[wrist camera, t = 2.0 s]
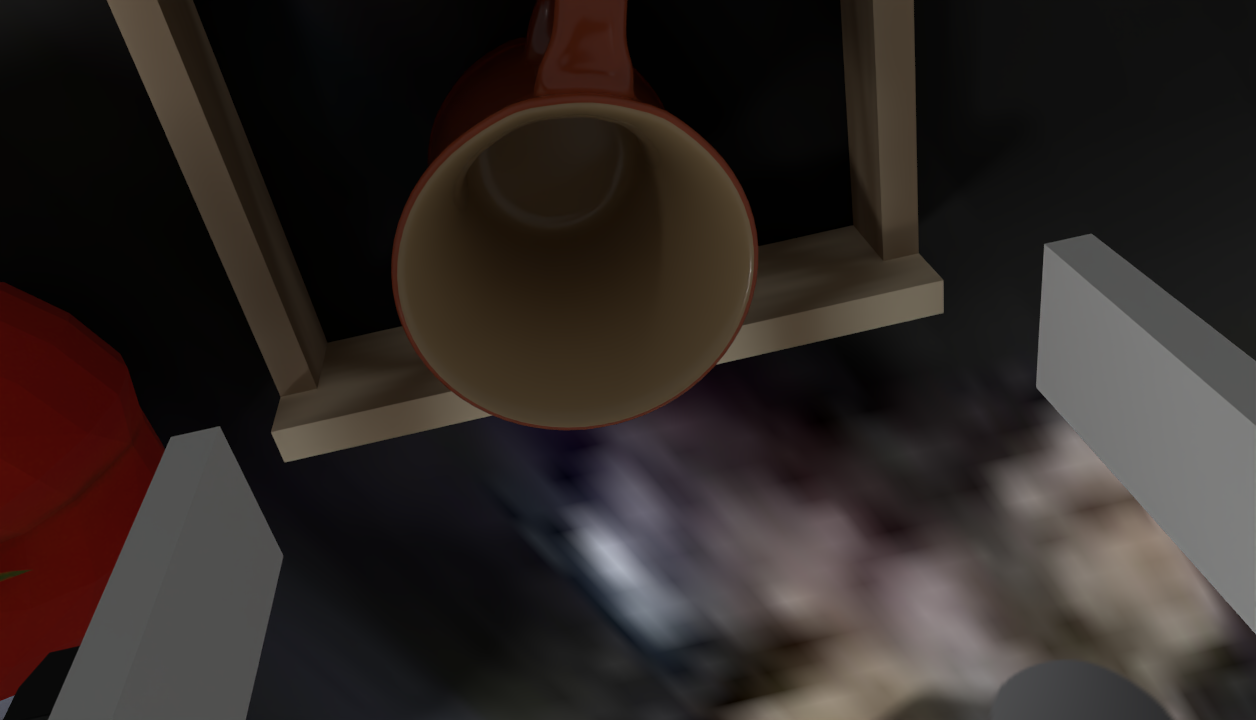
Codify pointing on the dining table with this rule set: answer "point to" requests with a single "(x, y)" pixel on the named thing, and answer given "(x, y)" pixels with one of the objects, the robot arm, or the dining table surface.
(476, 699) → the dining table surface
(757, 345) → the tan wooden shallow box
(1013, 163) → the dining table surface
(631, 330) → the mug
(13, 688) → the tomato
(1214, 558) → the robot arm
